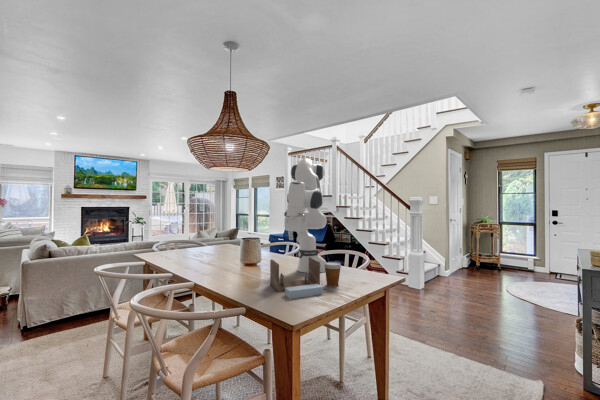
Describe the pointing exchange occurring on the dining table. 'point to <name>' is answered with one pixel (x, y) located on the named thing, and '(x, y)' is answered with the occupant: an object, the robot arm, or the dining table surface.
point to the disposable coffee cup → (332, 273)
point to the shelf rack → (309, 279)
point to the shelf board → (303, 291)
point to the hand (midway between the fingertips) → (294, 240)
